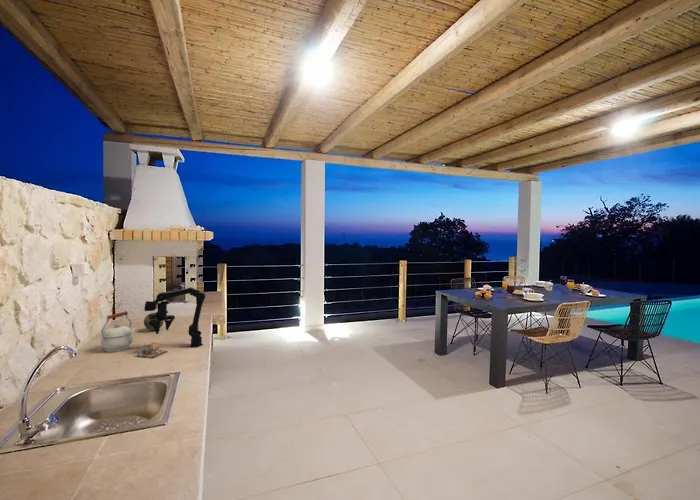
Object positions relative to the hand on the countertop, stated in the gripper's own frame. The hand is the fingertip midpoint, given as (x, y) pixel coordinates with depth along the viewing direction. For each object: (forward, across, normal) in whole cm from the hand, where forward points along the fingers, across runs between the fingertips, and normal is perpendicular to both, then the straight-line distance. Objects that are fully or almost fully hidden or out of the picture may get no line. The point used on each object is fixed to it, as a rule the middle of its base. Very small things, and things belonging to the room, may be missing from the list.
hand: (162, 332), depth 224 cm
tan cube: (+11, +12, +2) cm, 16 cm away
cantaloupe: (+12, -36, -38) cm, 53 cm away
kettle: (+12, +6, -29) cm, 32 cm away
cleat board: (+12, +12, +3) cm, 17 cm away
